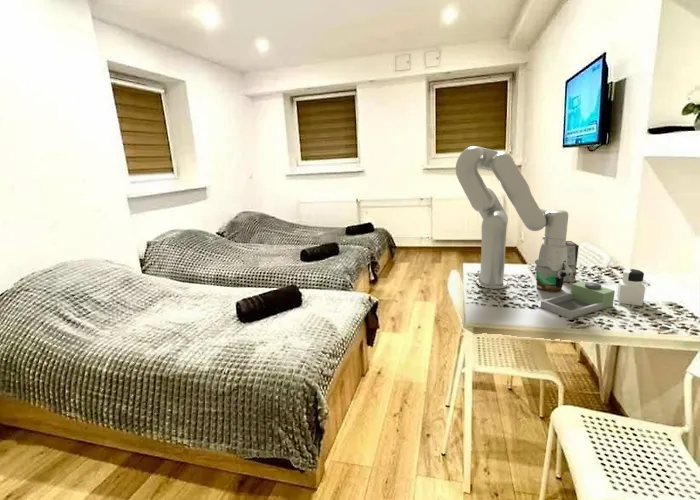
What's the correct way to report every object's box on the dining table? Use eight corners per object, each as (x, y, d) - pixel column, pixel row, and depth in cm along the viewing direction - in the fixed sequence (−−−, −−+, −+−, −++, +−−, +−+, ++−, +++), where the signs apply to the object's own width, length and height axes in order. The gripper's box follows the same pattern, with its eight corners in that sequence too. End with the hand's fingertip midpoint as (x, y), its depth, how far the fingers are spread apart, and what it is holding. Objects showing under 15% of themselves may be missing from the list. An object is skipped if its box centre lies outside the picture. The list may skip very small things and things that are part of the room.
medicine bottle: (639, 299, 140) (644, 268, 137) (642, 306, 134) (647, 274, 131) (616, 296, 144) (620, 266, 141) (618, 303, 138) (622, 272, 135)
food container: (539, 293, 150) (541, 269, 148) (532, 288, 156) (534, 265, 153) (571, 293, 149) (573, 269, 147) (563, 287, 155) (565, 264, 153)
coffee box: (575, 281, 161) (579, 245, 157) (559, 281, 162) (562, 245, 158) (568, 275, 170) (571, 240, 166) (552, 274, 171) (555, 240, 167)
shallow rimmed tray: (540, 306, 138) (542, 289, 136) (581, 295, 146) (583, 278, 144) (570, 319, 127) (572, 299, 125) (612, 306, 135) (615, 288, 134)
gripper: (529, 238, 154) (526, 279, 159) (568, 247, 139) (563, 292, 143) (542, 236, 157) (539, 276, 162) (582, 244, 142) (577, 288, 146)
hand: (550, 283), depth 153 cm, fingers closed on food container, 6 cm apart
